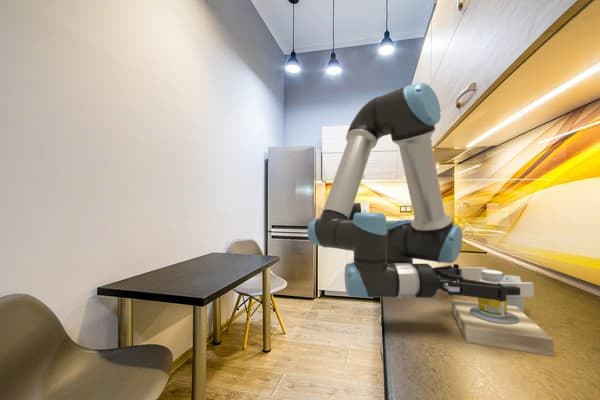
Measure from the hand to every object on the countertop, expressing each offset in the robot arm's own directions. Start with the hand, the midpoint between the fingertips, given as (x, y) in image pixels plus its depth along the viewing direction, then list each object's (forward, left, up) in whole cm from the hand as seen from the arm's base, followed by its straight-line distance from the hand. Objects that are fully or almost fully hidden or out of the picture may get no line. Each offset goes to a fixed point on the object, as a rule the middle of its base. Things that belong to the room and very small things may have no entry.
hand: (507, 280), depth 61 cm
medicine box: (-14, +5, -11) cm, 18 cm away
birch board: (+1, -3, -11) cm, 11 cm away
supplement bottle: (+1, -3, -8) cm, 9 cm away
